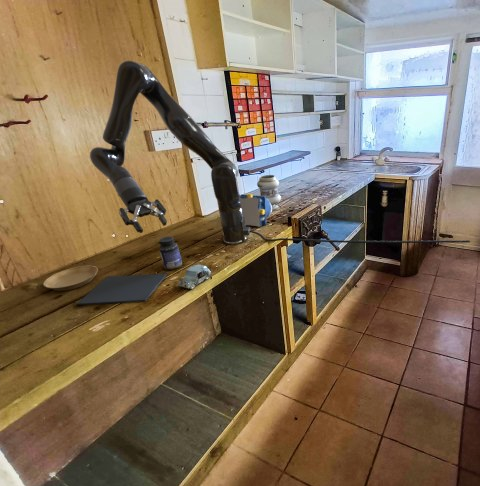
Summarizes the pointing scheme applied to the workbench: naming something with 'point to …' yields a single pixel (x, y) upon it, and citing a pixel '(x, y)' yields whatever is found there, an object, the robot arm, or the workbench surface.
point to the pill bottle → (170, 253)
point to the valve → (255, 209)
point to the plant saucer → (71, 278)
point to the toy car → (194, 276)
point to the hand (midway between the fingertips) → (153, 228)
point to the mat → (123, 289)
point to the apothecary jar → (269, 189)
